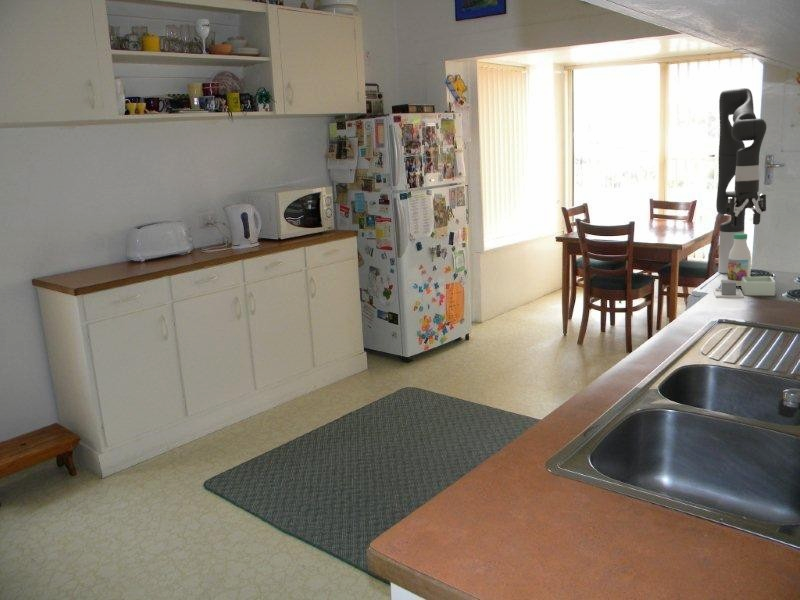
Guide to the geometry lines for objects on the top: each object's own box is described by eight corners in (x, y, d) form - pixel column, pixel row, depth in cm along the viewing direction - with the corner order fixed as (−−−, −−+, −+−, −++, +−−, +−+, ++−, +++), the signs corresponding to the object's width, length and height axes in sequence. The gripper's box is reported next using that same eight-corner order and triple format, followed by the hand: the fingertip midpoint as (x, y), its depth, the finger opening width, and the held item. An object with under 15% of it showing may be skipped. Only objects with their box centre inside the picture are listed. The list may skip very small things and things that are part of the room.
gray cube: (720, 292, 254) (720, 280, 252) (734, 292, 252) (734, 280, 251) (721, 295, 249) (722, 283, 248) (735, 295, 248) (736, 283, 247)
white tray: (713, 292, 257) (713, 288, 257) (739, 292, 254) (740, 288, 254) (715, 298, 247) (715, 295, 247) (743, 299, 244) (743, 295, 244)
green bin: (741, 290, 256) (741, 276, 255) (770, 290, 253) (771, 276, 252) (744, 296, 247) (745, 282, 246) (774, 296, 244) (775, 282, 243)
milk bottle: (733, 283, 269) (734, 232, 264) (753, 285, 263) (755, 233, 258) (723, 287, 264) (725, 234, 259) (744, 289, 258) (746, 236, 253)
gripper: (757, 176, 244) (755, 222, 247) (721, 180, 241) (720, 226, 245) (772, 177, 237) (770, 224, 240) (736, 181, 234) (735, 228, 237)
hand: (745, 225), depth 242 cm, fingers open, 8 cm apart
